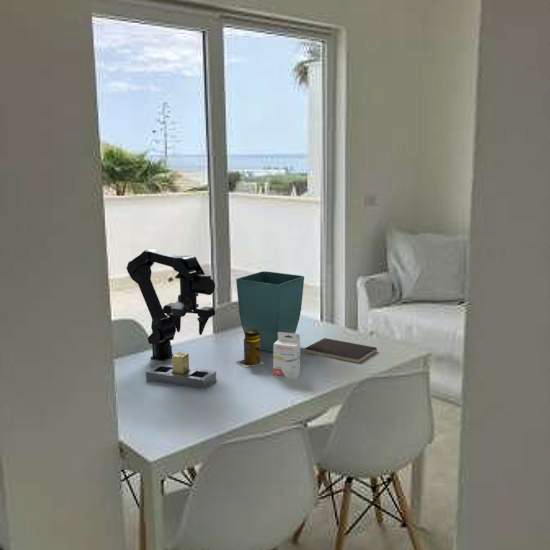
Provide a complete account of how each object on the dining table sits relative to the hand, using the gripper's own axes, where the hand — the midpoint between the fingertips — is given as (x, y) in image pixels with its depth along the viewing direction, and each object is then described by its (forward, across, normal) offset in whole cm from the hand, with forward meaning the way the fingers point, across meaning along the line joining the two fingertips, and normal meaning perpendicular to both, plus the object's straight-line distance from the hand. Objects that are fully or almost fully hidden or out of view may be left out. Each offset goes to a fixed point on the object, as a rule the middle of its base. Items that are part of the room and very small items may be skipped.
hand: (189, 333), depth 214 cm
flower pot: (+12, +19, +31) cm, 38 cm away
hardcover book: (+12, +47, +34) cm, 59 cm away
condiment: (+12, +20, +10) cm, 25 cm away
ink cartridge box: (+12, +37, +3) cm, 39 cm away
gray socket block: (+12, +5, -15) cm, 20 cm away
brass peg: (+12, +5, -15) cm, 20 cm away
